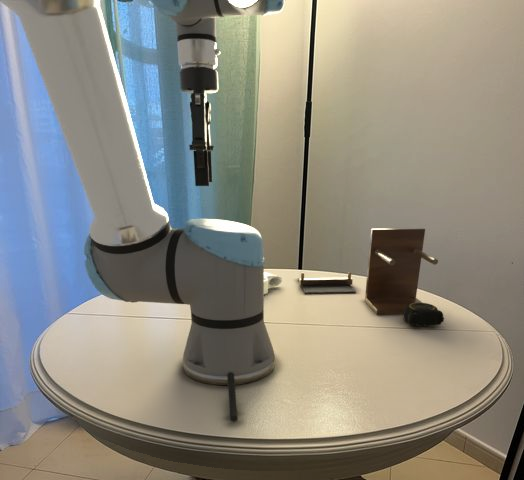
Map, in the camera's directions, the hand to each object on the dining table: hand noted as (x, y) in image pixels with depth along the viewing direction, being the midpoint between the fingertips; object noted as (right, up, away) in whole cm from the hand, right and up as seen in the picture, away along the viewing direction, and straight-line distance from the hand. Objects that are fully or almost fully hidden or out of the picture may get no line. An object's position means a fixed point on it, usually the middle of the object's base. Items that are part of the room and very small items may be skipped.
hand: (204, 184), depth 98 cm
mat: (+29, -19, +24) cm, 42 cm away
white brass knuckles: (+8, -19, +24) cm, 32 cm away
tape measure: (+46, -31, -4) cm, 55 cm away
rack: (+43, -26, +6) cm, 51 cm away
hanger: (+29, -18, +24) cm, 42 cm away
